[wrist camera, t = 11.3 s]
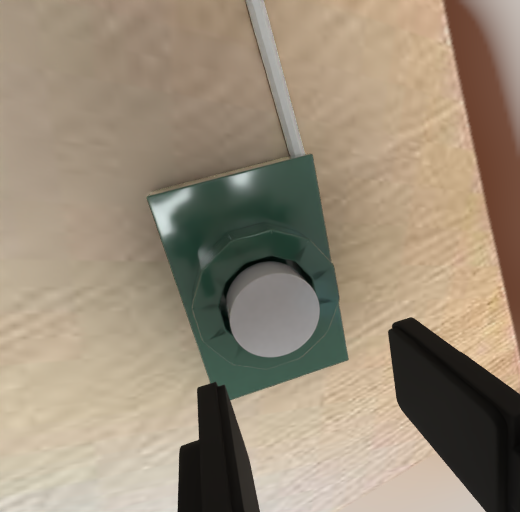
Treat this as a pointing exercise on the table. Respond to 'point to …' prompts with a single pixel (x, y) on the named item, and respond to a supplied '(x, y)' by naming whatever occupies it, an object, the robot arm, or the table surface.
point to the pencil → (275, 75)
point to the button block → (250, 262)
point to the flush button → (271, 309)
